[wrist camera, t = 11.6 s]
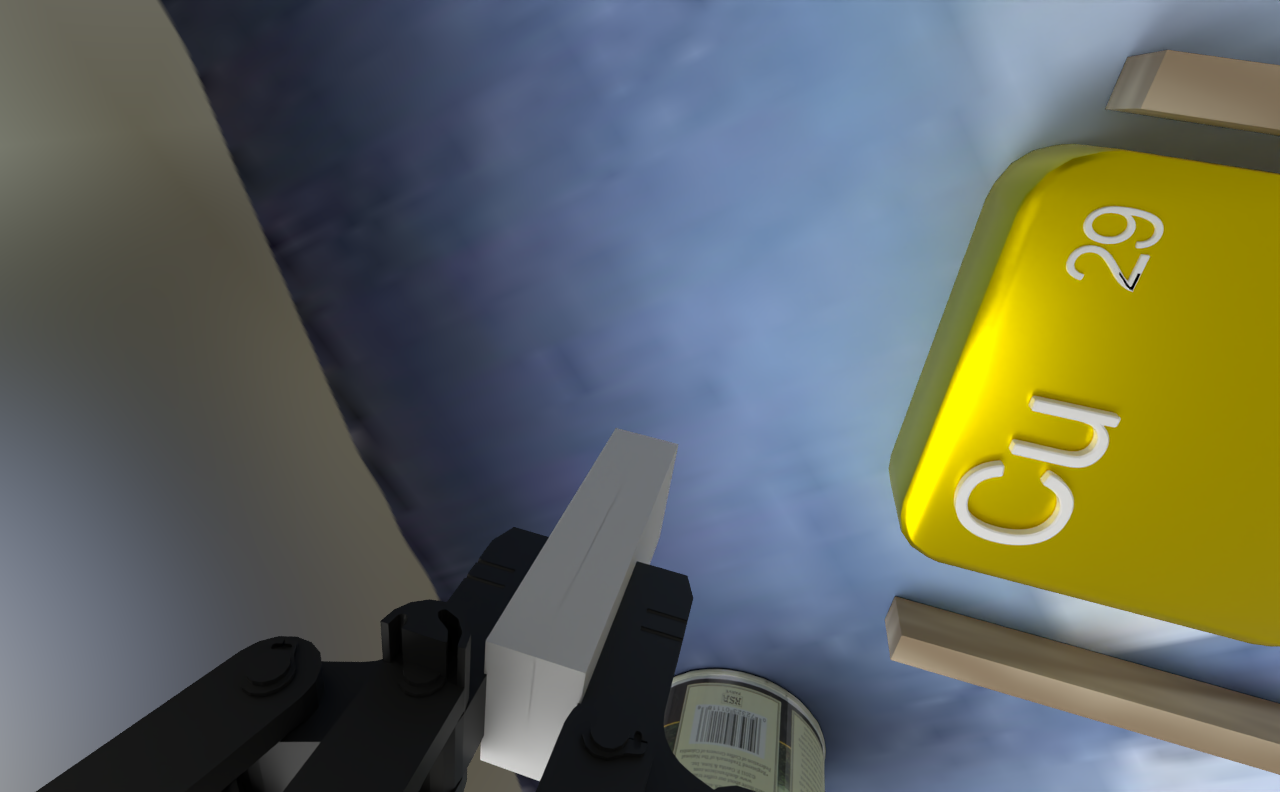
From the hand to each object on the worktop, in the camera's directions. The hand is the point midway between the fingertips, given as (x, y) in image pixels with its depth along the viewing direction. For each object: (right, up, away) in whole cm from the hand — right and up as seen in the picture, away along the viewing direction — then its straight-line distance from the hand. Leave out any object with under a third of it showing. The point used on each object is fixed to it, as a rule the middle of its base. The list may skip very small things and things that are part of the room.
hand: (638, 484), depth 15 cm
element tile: (+19, +3, +9) cm, 21 cm away
